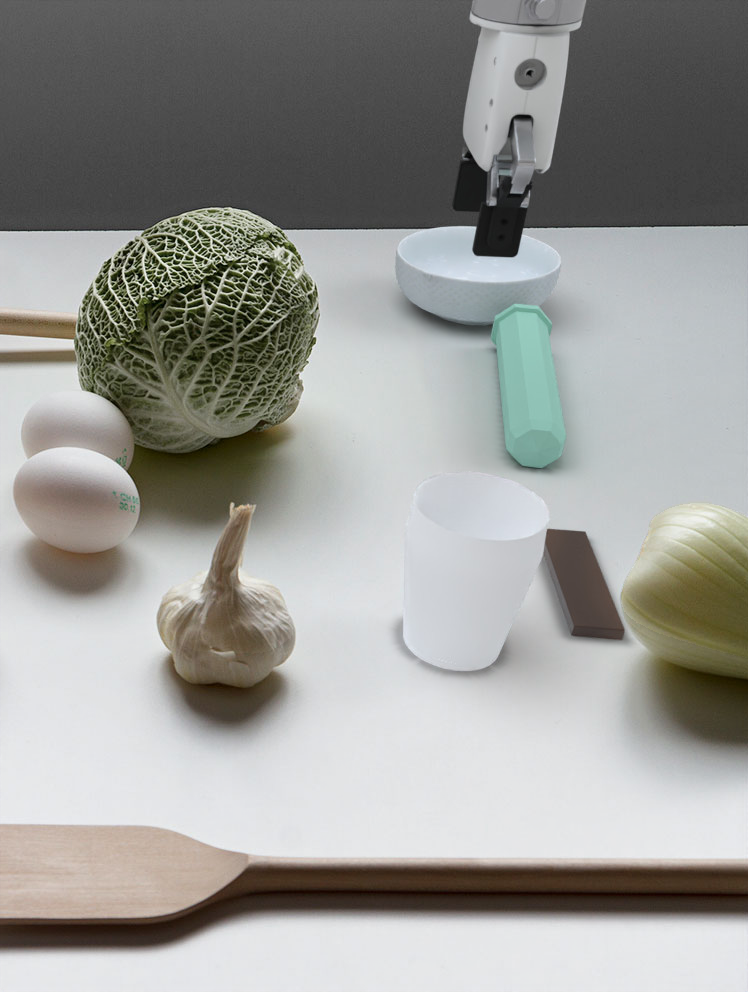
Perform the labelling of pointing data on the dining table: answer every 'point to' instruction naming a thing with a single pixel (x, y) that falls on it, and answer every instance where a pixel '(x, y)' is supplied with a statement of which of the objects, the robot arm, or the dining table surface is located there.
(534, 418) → the container
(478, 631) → the cup
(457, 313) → the cereal bowl
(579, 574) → the walnut strip
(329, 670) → the dining table surface
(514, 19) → the robot arm
